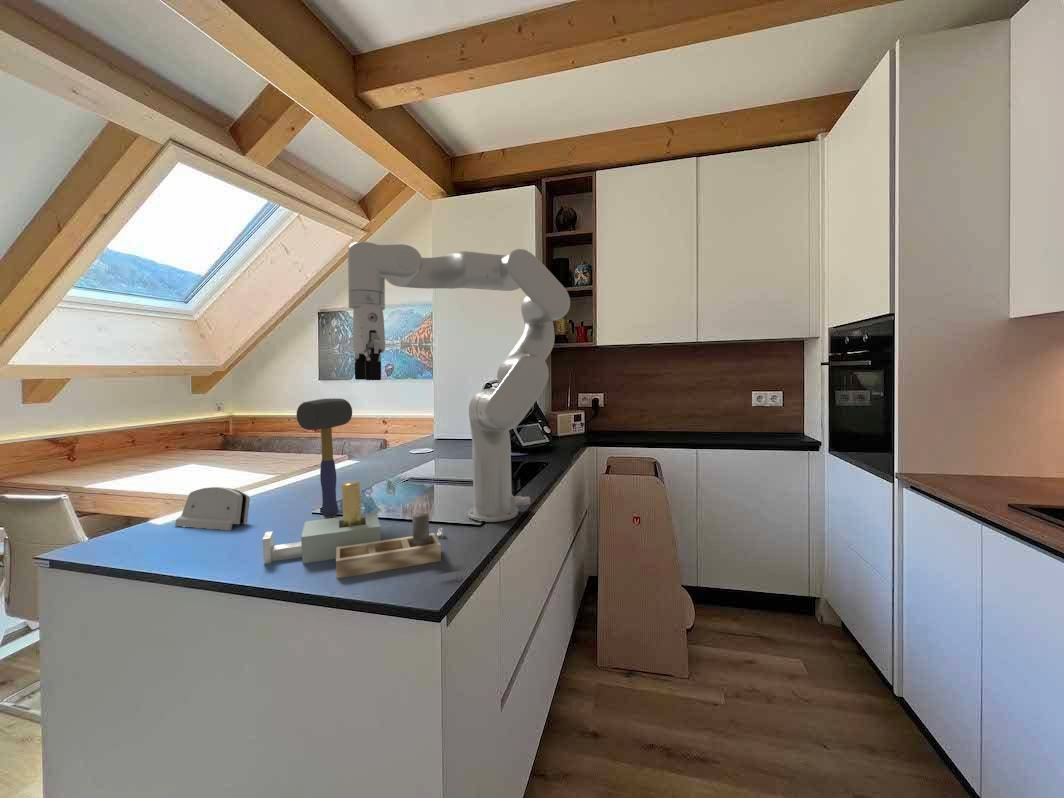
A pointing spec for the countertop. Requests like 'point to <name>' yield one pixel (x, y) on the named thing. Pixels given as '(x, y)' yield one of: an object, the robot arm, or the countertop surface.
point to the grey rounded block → (215, 509)
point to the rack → (390, 551)
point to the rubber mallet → (325, 441)
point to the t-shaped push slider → (279, 549)
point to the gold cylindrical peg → (351, 504)
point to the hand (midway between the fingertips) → (367, 379)
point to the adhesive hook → (440, 532)
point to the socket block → (336, 536)
